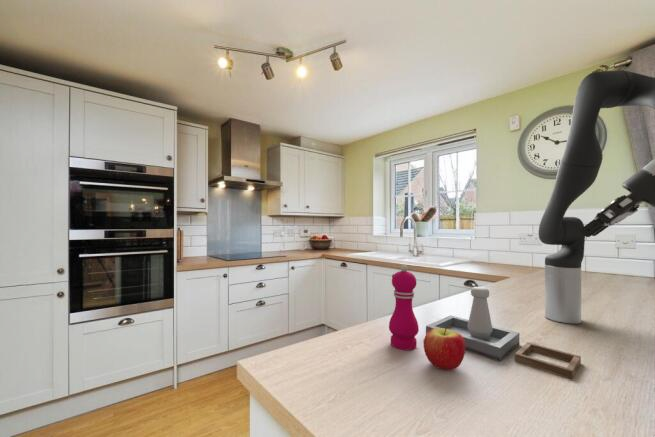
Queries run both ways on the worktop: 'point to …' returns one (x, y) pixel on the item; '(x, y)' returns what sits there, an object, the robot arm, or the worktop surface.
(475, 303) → the salt shaker
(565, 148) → the robot arm
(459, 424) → the worktop surface
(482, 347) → the tray
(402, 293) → the pepper mill
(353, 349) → the worktop surface
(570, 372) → the wooden square frame
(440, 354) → the apple
